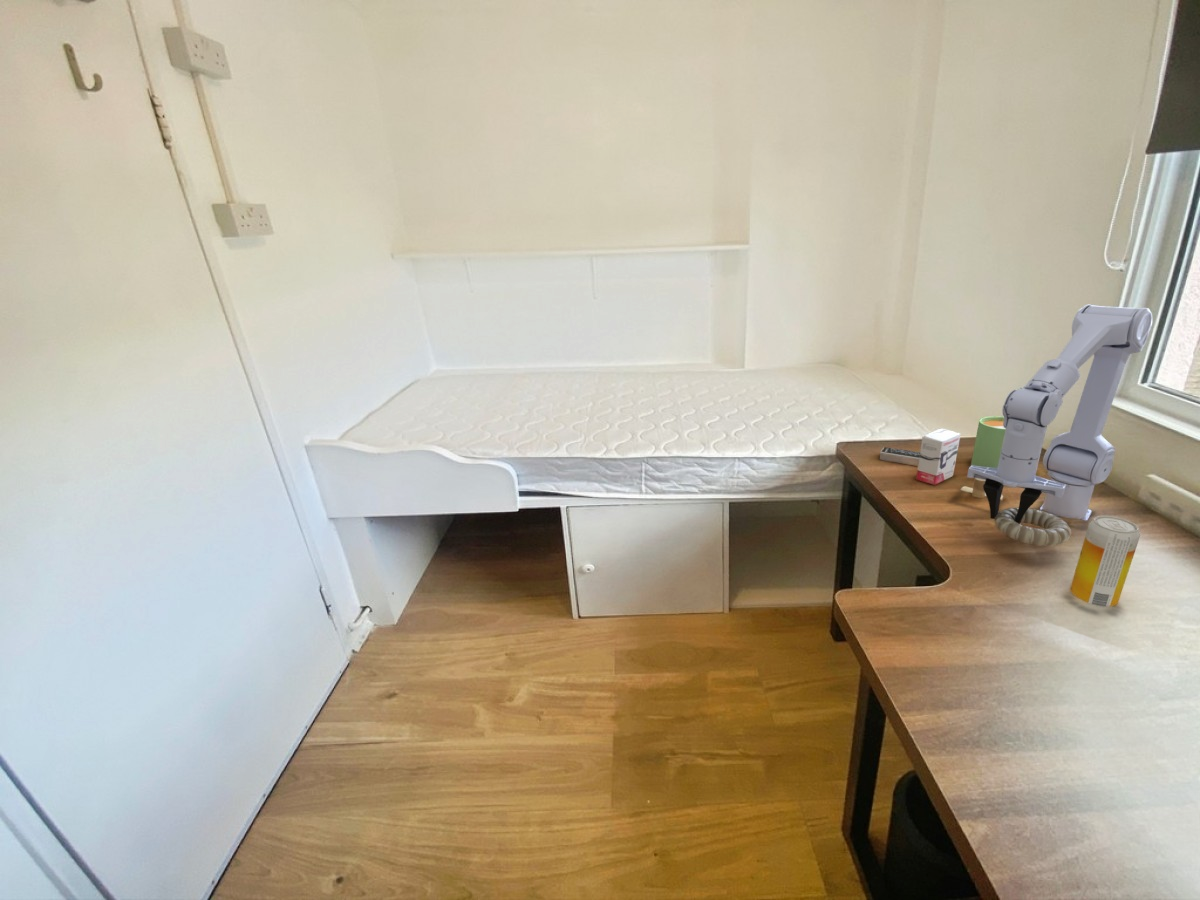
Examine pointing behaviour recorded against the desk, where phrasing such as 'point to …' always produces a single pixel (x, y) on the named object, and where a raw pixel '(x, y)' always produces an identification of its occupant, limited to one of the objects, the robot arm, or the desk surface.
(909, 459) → the multiport hub
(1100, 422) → the robot arm
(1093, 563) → the orange pill bottle
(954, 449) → the ink box
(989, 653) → the desk surface
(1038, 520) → the ring
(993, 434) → the mug
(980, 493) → the stand
